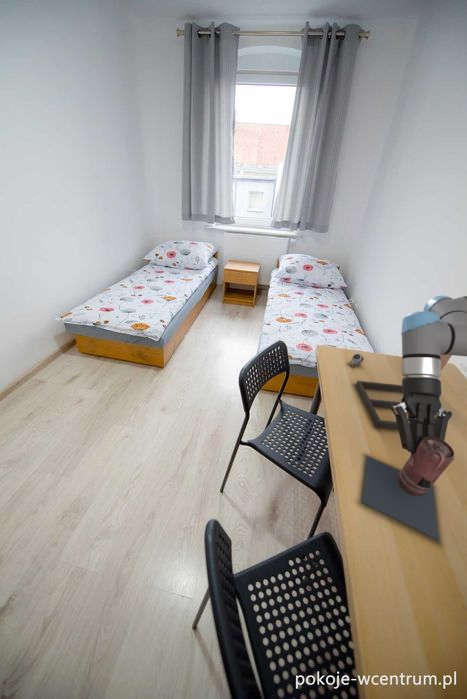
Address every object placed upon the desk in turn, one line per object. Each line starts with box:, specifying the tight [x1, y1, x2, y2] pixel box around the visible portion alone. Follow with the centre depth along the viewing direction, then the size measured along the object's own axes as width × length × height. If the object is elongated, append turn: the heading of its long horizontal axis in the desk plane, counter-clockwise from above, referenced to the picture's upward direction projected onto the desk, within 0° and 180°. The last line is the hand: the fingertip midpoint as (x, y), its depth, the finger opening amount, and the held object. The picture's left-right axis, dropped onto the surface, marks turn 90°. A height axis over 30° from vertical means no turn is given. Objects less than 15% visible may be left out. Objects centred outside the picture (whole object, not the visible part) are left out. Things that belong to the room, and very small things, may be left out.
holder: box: [355, 380, 427, 431], centre depth 92 cm, size 19×19×2 cm
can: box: [397, 436, 455, 497], centre depth 61 cm, size 6×6×14 cm
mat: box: [361, 455, 439, 542], centre depth 68 cm, size 16×14×1 cm
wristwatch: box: [349, 353, 365, 367], centre depth 109 cm, size 4×6×5 cm, turn 118°
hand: (422, 485), depth 60 cm, fingers closed
